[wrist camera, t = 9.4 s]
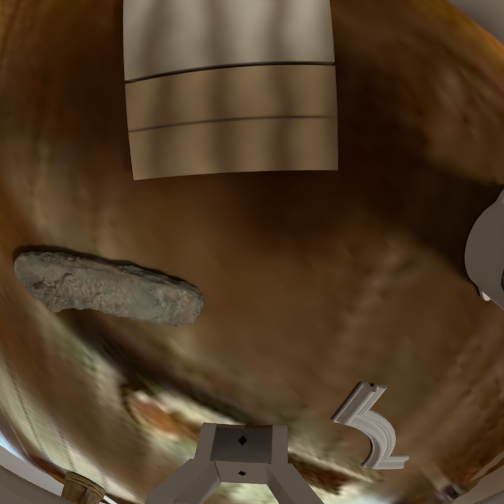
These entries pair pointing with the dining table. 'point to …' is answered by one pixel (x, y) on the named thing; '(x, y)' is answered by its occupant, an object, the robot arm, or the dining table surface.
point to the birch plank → (223, 35)
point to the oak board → (234, 121)
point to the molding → (371, 426)
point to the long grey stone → (107, 288)
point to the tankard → (81, 490)
